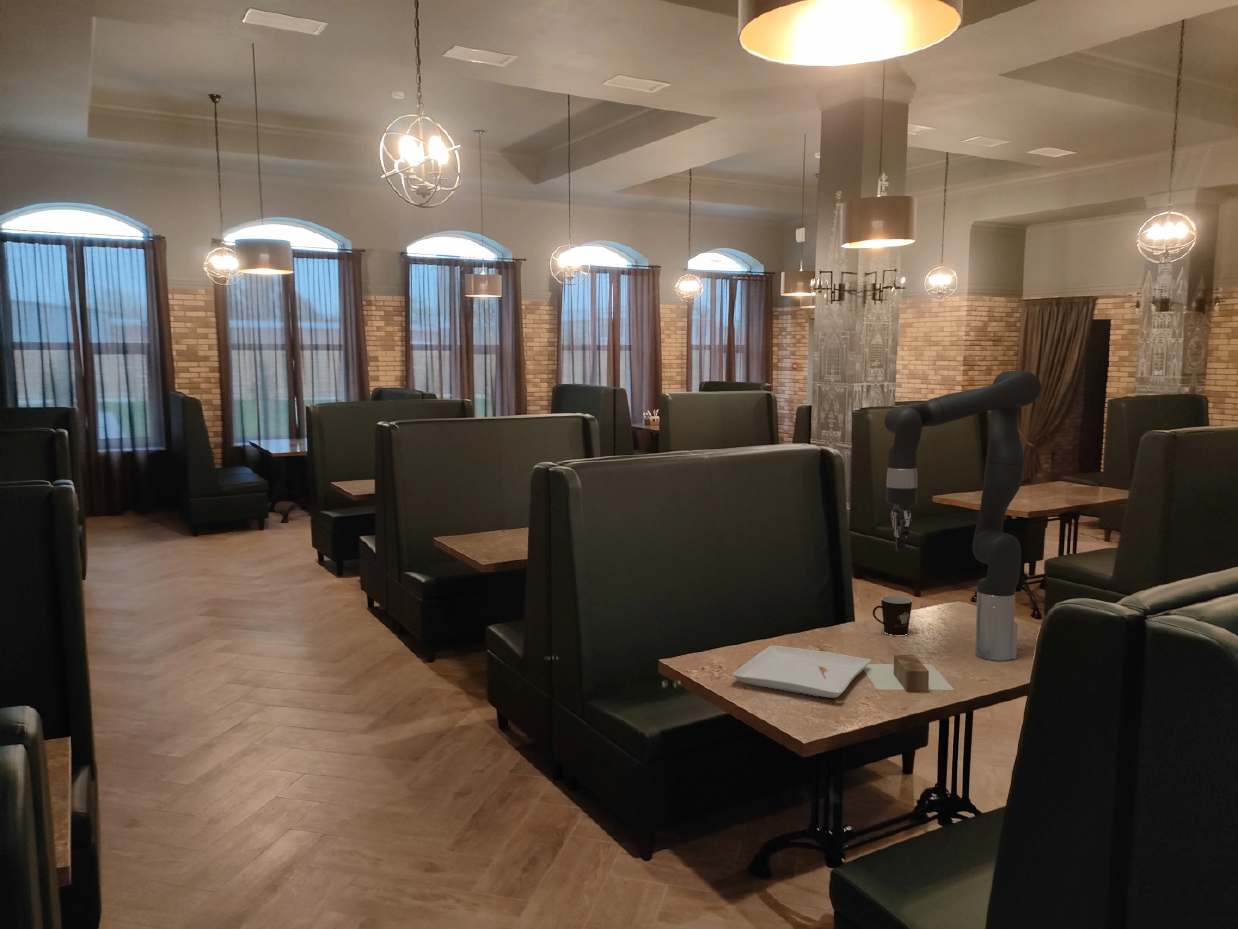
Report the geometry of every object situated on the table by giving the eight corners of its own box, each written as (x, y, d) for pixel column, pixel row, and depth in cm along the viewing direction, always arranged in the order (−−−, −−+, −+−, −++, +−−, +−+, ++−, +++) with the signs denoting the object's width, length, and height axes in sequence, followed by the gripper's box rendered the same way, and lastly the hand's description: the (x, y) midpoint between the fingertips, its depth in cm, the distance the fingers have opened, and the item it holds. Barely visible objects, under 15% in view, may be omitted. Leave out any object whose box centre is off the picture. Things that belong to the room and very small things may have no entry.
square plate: (872, 672, 220) (872, 657, 219) (840, 708, 196) (841, 691, 196) (770, 656, 234) (770, 642, 233) (730, 688, 210) (730, 672, 210)
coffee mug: (907, 629, 255) (908, 596, 254) (914, 638, 246) (915, 603, 245) (867, 628, 256) (867, 595, 255) (872, 637, 247) (873, 603, 246)
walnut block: (914, 654, 214) (928, 671, 202) (913, 674, 215) (928, 692, 203) (893, 654, 215) (907, 671, 203) (893, 674, 215) (906, 692, 203)
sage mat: (931, 666, 222) (931, 664, 222) (954, 692, 204) (954, 689, 204) (860, 666, 223) (860, 664, 223) (876, 691, 205) (876, 689, 205)
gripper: (924, 488, 216) (922, 556, 218) (909, 482, 229) (908, 546, 231) (893, 488, 216) (892, 557, 218) (880, 482, 229) (879, 546, 231)
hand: (900, 551), depth 224 cm, fingers closed
